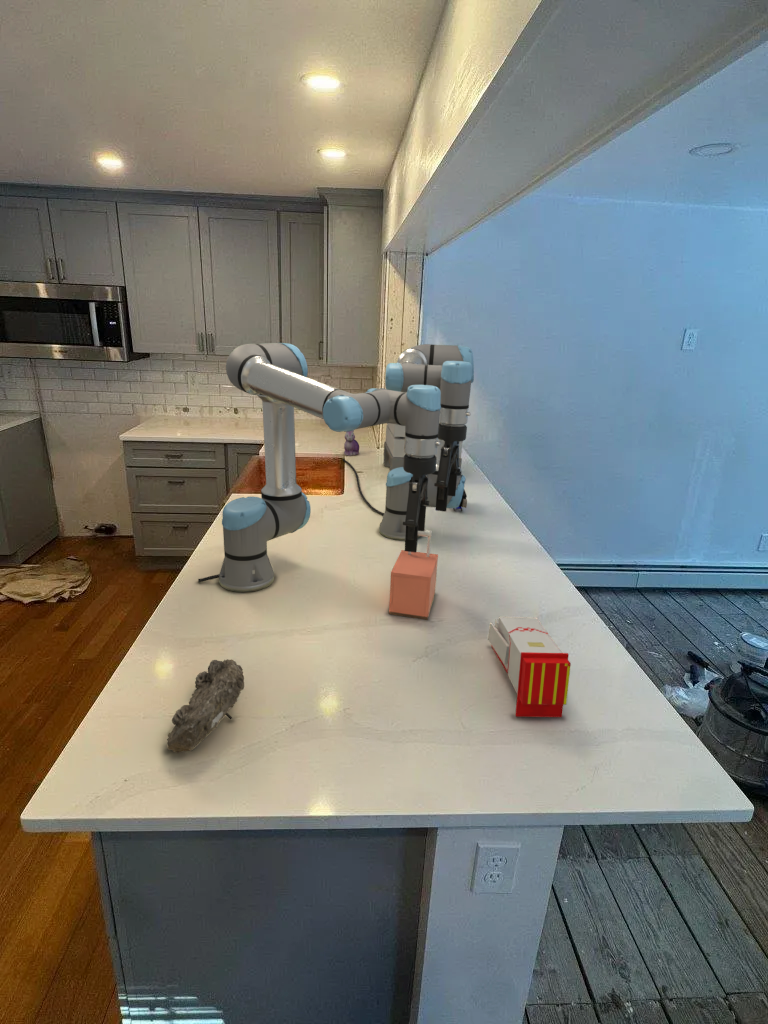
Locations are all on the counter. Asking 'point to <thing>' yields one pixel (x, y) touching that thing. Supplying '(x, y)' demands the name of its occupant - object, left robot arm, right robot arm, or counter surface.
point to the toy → (531, 665)
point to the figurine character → (462, 502)
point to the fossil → (206, 705)
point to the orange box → (416, 562)
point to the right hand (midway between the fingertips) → (445, 502)
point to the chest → (412, 596)
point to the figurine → (351, 444)
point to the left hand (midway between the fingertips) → (415, 540)
